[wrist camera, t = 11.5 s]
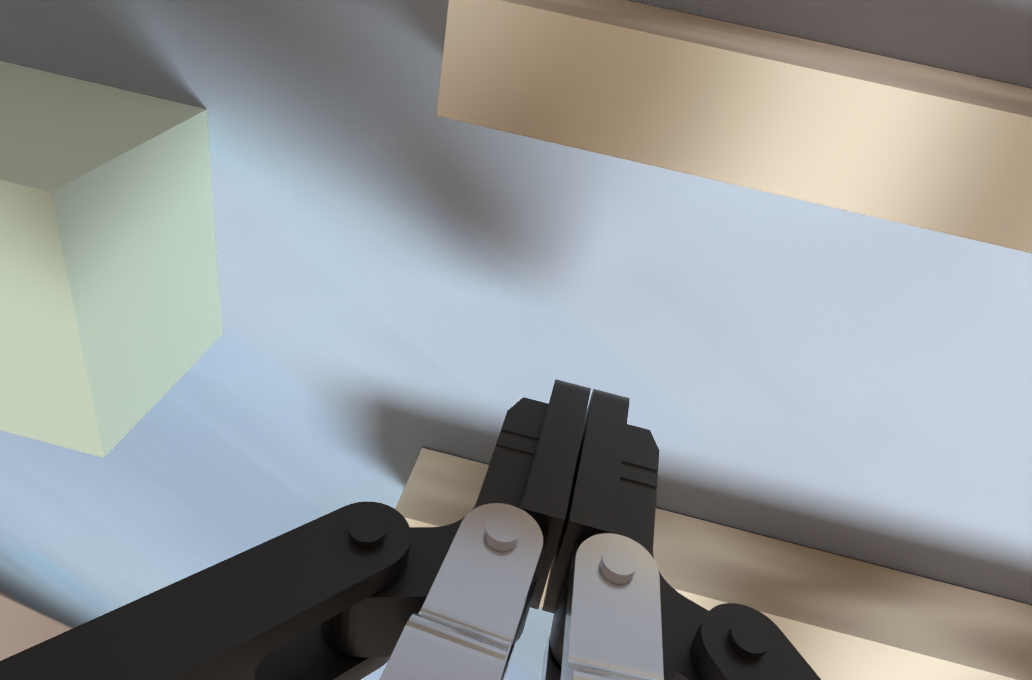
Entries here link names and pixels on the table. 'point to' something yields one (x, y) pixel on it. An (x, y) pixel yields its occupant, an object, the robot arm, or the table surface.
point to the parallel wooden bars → (784, 171)
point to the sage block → (99, 255)
